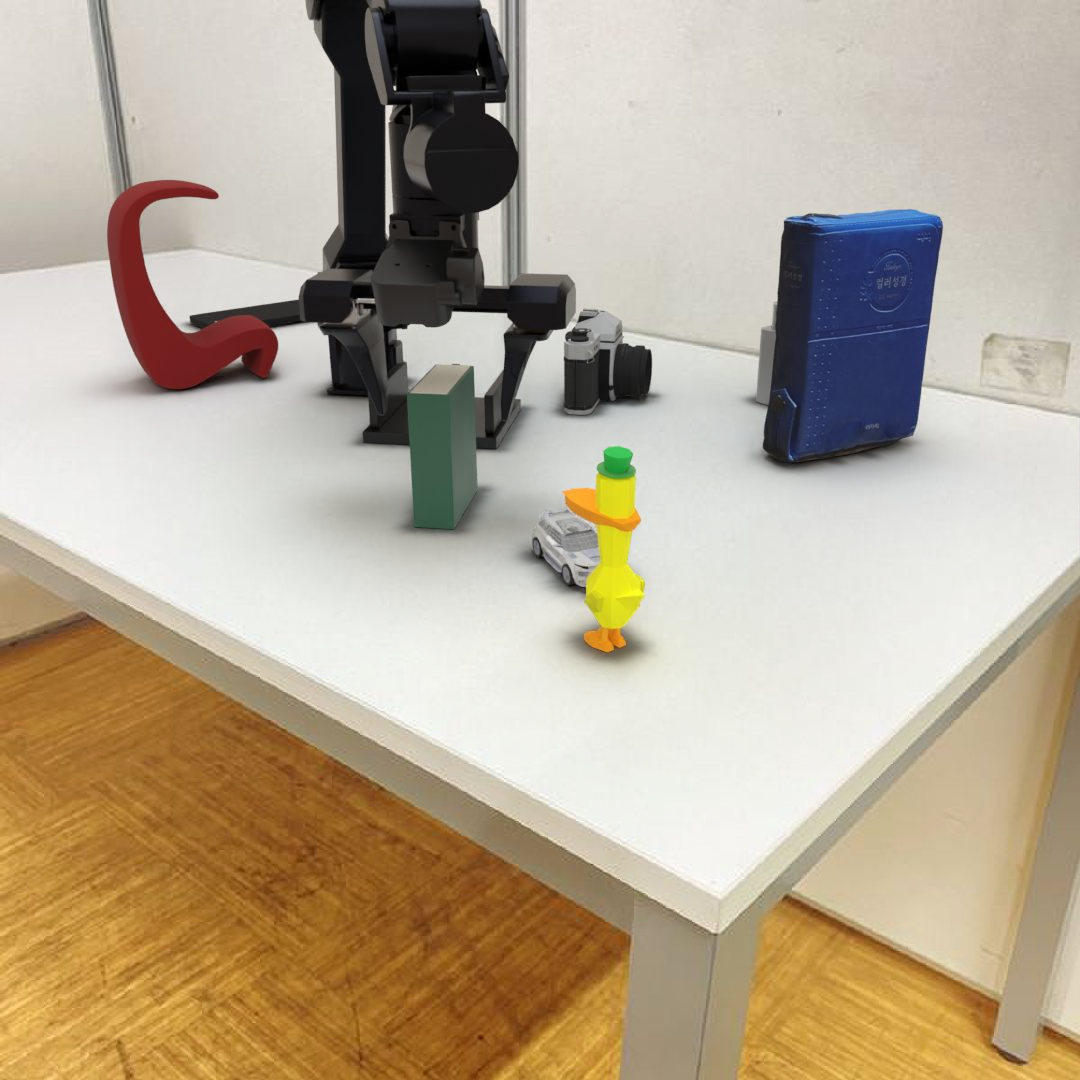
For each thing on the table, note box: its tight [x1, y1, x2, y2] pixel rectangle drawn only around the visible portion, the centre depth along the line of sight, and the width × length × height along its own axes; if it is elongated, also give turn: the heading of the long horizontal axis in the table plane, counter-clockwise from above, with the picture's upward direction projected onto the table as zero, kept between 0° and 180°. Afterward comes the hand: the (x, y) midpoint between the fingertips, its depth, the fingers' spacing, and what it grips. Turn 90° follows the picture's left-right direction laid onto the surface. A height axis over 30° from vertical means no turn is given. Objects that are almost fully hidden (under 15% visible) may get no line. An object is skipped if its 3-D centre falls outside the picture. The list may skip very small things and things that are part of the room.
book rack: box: [362, 361, 522, 450], centre depth 103 cm, size 12×12×4 cm
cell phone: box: [189, 298, 303, 329], centre depth 145 cm, size 9×18×1 cm, turn 129°
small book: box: [407, 363, 478, 530], centre depth 83 cm, size 3×8×10 cm, turn 171°
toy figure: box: [561, 445, 646, 653], centre depth 64 cm, size 7×4×12 cm, turn 38°
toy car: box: [531, 506, 600, 588], centre depth 75 cm, size 4×8×3 cm, turn 24°
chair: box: [106, 179, 279, 390], centre depth 115 cm, size 15×7×20 cm, turn 118°
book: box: [762, 208, 944, 463], centre depth 93 cm, size 14×5×20 cm, turn 117°
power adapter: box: [755, 300, 777, 406], centre depth 109 cm, size 3×5×12 cm, turn 128°
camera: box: [563, 308, 653, 416], centre depth 110 cm, size 13×8×9 cm, turn 169°
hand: (443, 416), depth 82 cm, fingers open, 9 cm apart
